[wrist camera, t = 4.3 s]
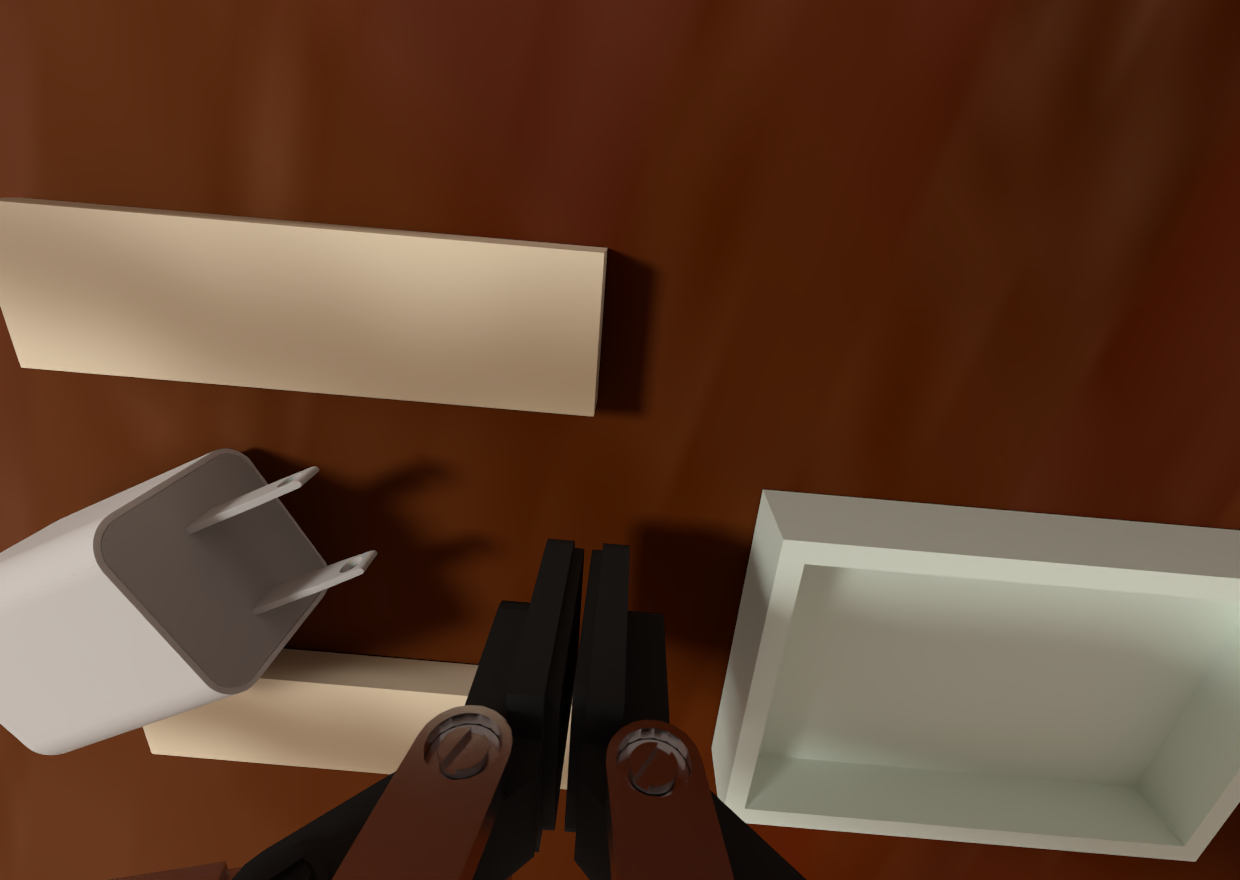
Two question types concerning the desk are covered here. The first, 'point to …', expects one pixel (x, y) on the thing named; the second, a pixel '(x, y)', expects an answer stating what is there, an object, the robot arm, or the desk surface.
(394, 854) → the robot arm
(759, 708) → the tray
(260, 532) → the usb wall charger
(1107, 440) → the desk surface
